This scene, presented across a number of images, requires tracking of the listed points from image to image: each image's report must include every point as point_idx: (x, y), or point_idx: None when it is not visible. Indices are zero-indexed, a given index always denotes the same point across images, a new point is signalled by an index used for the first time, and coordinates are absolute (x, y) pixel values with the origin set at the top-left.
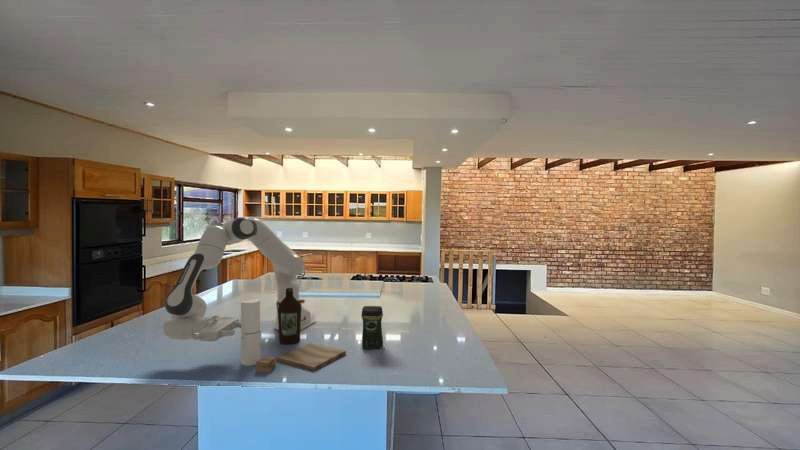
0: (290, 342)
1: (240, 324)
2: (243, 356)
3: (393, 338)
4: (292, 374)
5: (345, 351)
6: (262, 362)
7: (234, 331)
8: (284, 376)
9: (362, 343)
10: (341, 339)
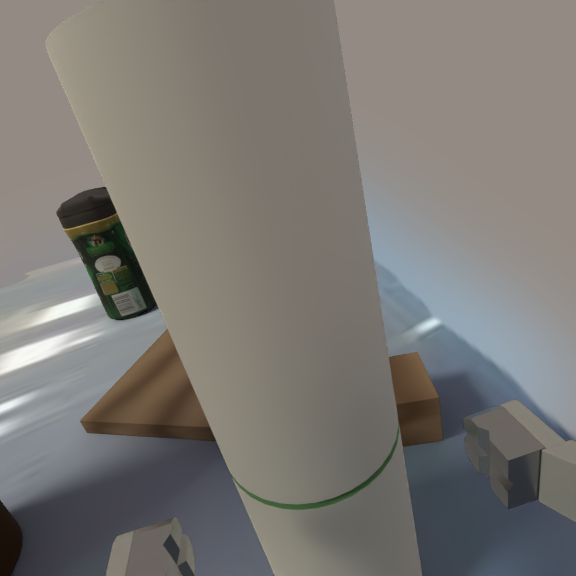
0: (17, 532)
1: (172, 562)
2: (416, 545)
3: (78, 304)
4: (384, 329)
5: None
6: (426, 373)
7: (464, 424)
8: (412, 335)
9: (142, 298)
10: (36, 384)
